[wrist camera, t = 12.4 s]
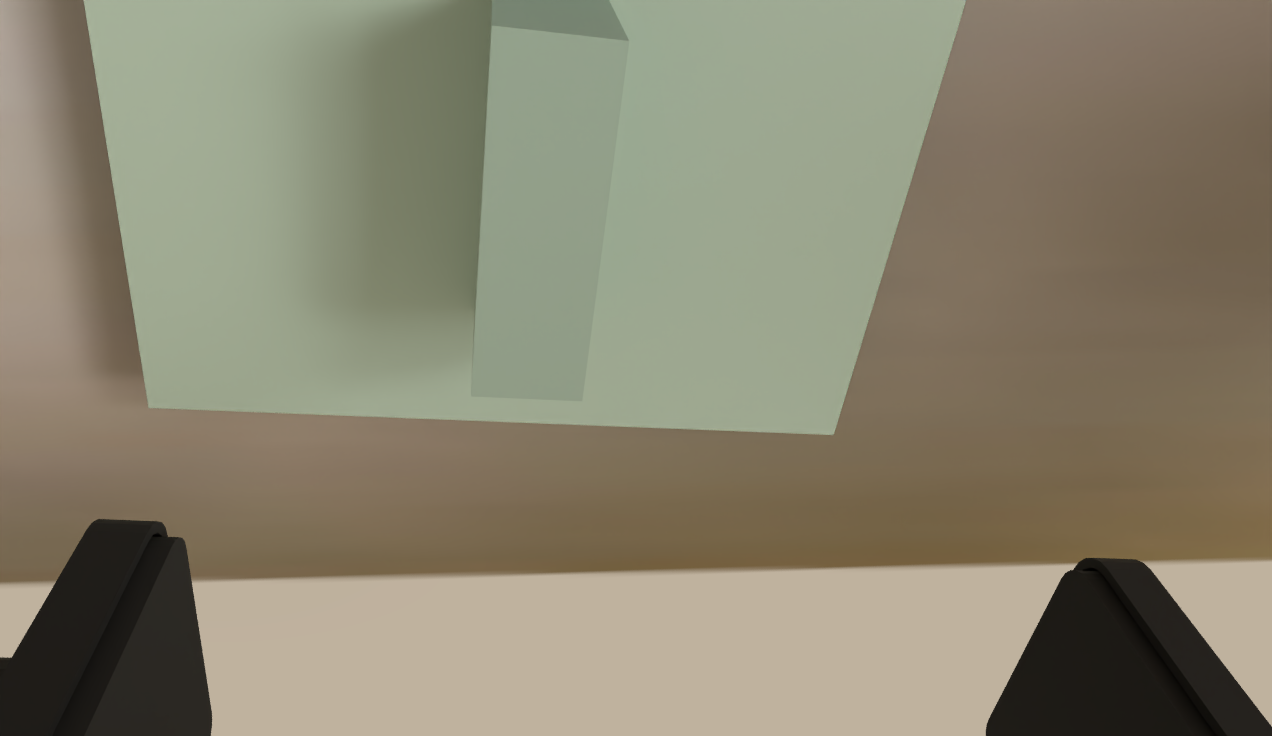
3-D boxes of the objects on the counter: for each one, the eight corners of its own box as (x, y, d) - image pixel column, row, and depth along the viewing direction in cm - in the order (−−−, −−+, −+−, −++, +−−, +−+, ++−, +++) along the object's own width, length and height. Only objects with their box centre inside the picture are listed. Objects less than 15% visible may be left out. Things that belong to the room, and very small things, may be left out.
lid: (962, -136, 22) (1106, -107, 17) (812, 393, 30) (879, 525, 25) (84, -276, 19) (-75, -293, 13) (172, 363, 26) (94, 508, 21)
